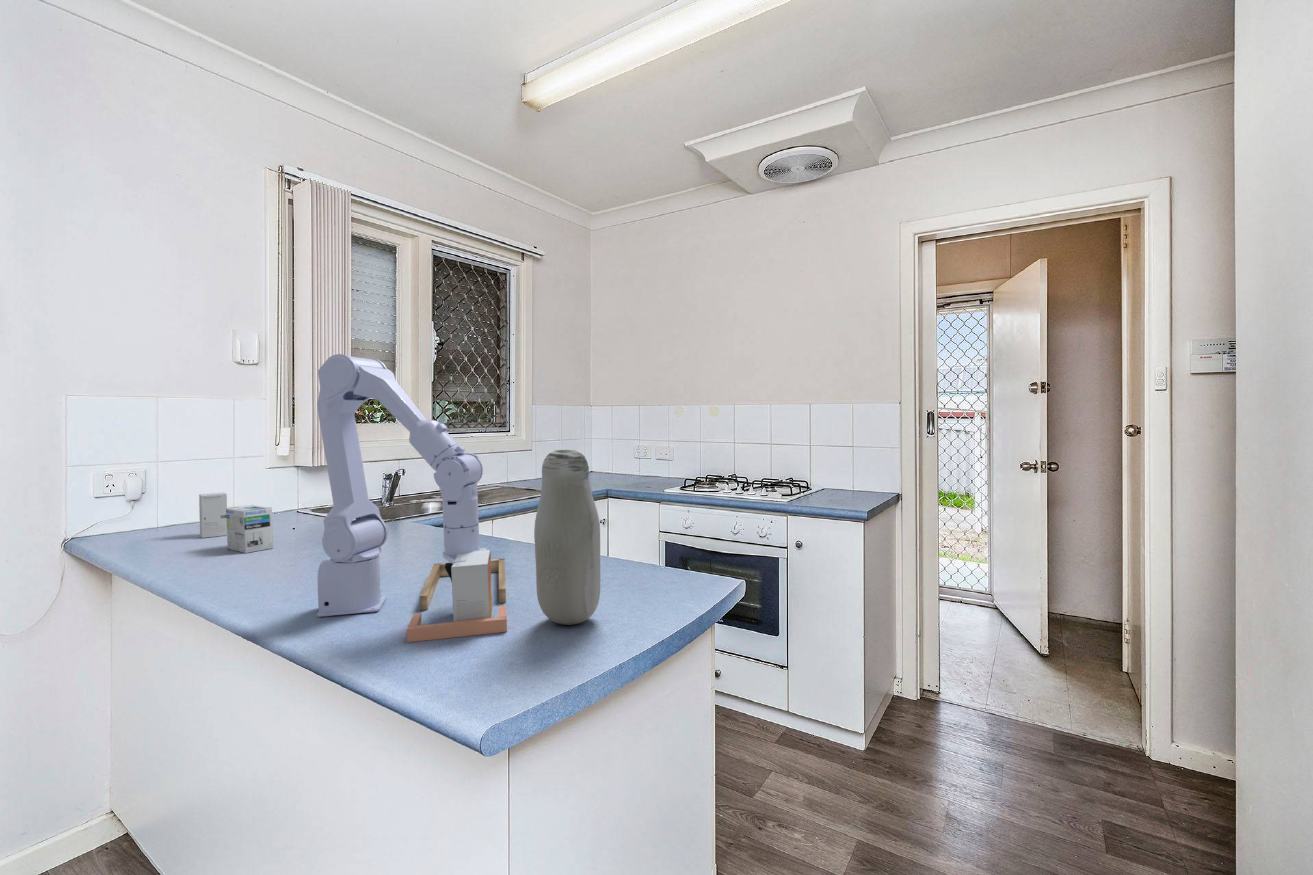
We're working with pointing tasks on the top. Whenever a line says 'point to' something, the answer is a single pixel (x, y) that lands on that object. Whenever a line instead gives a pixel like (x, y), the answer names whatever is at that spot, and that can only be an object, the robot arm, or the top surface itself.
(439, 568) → the u-shaped frame
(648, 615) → the top surface
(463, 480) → the robot arm
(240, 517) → the light bulb box
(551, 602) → the grey bottle
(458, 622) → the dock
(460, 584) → the small box
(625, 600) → the top surface
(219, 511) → the skincare box
